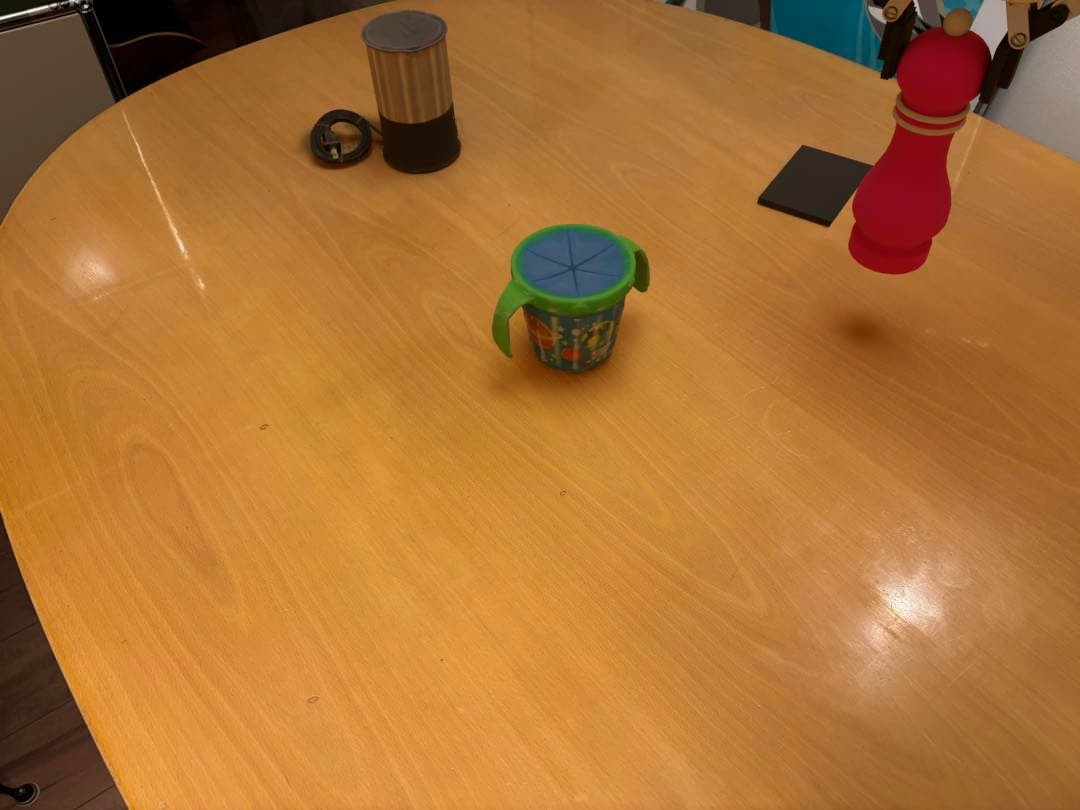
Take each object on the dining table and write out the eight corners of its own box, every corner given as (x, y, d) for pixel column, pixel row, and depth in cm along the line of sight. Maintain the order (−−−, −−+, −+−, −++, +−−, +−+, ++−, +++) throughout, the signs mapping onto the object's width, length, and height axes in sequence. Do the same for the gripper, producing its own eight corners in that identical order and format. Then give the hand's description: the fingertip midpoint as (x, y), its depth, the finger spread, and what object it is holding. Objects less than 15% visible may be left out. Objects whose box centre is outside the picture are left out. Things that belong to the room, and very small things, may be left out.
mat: (979, 203, 92) (982, 197, 92) (945, 265, 86) (947, 259, 85) (801, 150, 100) (802, 144, 100) (757, 203, 94) (758, 197, 93)
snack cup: (616, 286, 85) (619, 199, 78) (676, 352, 79) (687, 264, 72) (472, 342, 81) (461, 255, 73) (524, 416, 75) (518, 329, 67)
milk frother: (476, 156, 101) (464, 31, 90) (355, 205, 96) (325, 78, 85) (417, 106, 110) (399, -14, 98) (302, 148, 104) (269, 25, 93)
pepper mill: (837, 222, 75) (897, -16, 60) (926, 225, 74) (1008, -15, 59) (845, 277, 70) (911, 34, 55) (939, 281, 69) (1033, 35, 54)
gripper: (1227, -230, 46) (1084, 88, 59) (900, -258, 53) (839, 33, 66) (1205, -190, 42) (1058, 142, 55) (855, -226, 49) (800, 77, 62)
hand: (939, 80), depth 61 cm, fingers closed on pepper mill, 6 cm apart
